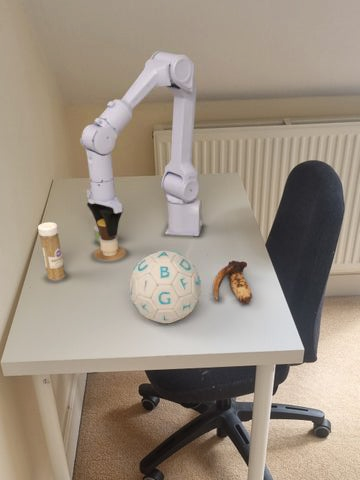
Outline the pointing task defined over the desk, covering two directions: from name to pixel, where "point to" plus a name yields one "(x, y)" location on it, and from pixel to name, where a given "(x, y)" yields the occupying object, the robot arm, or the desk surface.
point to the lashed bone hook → (234, 281)
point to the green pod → (96, 233)
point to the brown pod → (103, 230)
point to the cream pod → (109, 246)
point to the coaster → (120, 253)
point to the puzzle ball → (165, 287)
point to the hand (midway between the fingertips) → (107, 232)
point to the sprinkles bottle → (51, 250)
